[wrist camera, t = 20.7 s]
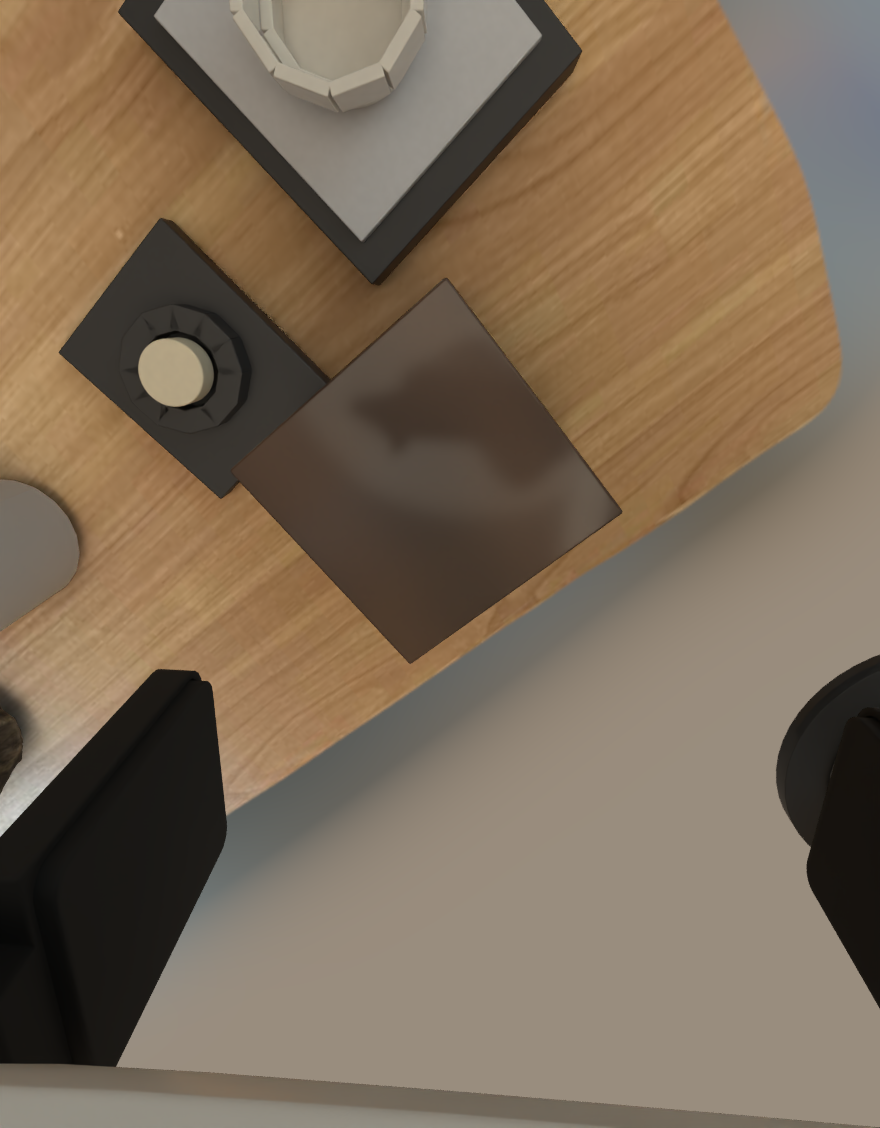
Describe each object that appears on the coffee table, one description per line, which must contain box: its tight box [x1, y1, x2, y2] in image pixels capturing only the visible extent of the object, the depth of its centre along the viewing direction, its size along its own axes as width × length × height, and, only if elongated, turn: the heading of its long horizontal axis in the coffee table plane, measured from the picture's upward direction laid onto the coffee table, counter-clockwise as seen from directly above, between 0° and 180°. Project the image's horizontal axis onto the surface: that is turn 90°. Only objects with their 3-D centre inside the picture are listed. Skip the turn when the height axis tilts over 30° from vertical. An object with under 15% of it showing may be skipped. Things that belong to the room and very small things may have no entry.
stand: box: [230, 278, 622, 664], centre depth 30 cm, size 10×10×14 cm
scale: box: [118, 0, 582, 285], centre depth 29 cm, size 15×13×3 cm
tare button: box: [138, 337, 214, 407], centre depth 33 cm, size 3×3×2 cm
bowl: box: [229, 0, 427, 112], centre depth 26 cm, size 7×7×4 cm
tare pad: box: [59, 218, 330, 499], centre depth 35 cm, size 11×9×3 cm
